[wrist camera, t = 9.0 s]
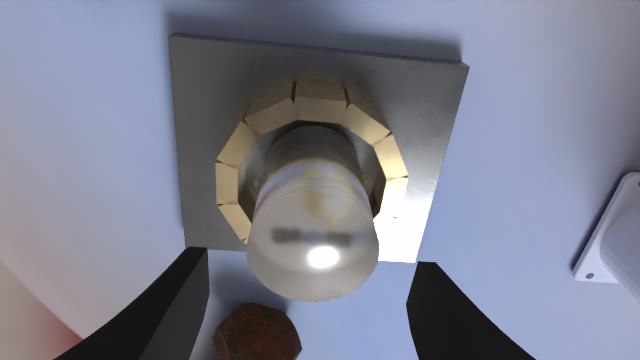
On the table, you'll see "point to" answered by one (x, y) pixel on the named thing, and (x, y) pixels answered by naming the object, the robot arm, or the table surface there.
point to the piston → (312, 219)
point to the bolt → (257, 335)
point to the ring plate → (307, 110)
